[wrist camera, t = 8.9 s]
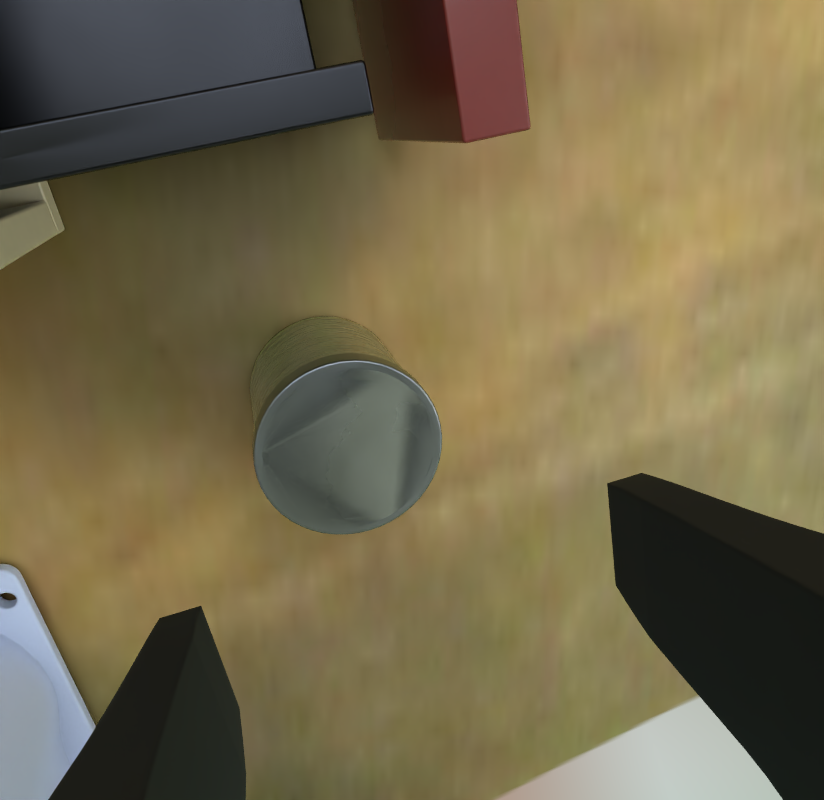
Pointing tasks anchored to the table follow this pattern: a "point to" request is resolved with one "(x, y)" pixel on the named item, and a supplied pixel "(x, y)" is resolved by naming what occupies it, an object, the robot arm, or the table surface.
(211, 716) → the robot arm
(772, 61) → the table surface
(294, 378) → the tin
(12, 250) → the cabinet
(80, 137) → the drawer
